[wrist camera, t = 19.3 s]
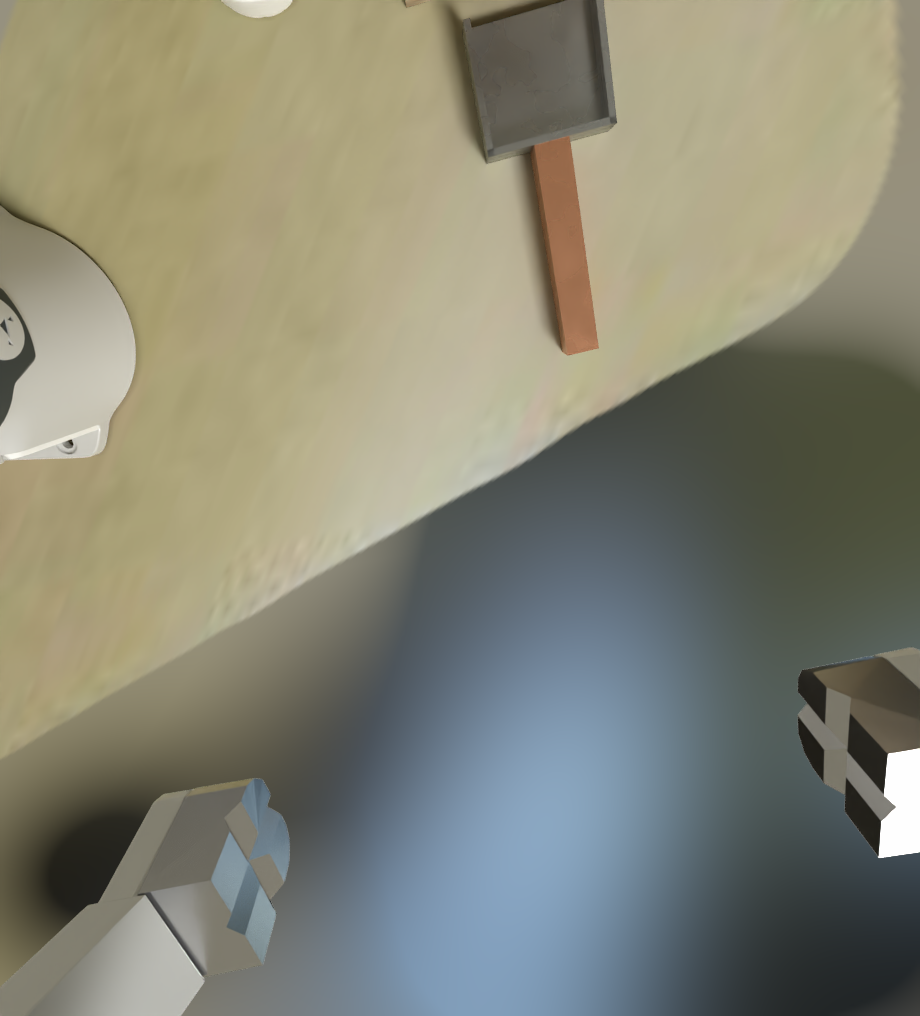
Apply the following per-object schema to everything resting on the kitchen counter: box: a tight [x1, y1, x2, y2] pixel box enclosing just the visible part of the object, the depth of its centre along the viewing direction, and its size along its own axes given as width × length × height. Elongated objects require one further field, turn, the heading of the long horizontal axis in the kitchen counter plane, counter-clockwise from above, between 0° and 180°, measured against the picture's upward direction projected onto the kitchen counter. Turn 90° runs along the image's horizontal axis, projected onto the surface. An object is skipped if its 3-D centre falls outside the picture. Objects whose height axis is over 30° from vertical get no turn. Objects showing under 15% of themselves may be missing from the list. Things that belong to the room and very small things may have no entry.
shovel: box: [463, 0, 617, 356], centre depth 37 cm, size 8×20×2 cm, turn 13°
